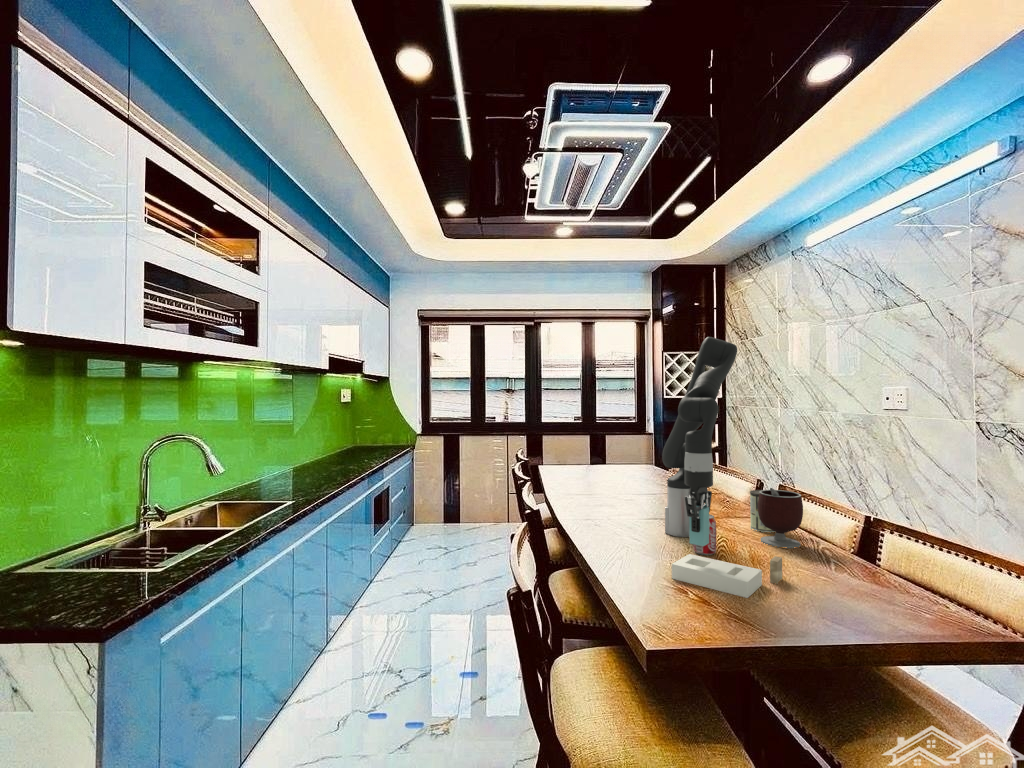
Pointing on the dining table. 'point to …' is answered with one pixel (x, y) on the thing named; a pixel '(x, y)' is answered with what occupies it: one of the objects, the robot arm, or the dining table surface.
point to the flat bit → (775, 569)
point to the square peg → (703, 535)
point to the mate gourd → (780, 515)
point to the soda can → (710, 547)
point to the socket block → (717, 575)
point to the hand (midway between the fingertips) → (699, 529)
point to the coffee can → (756, 513)
